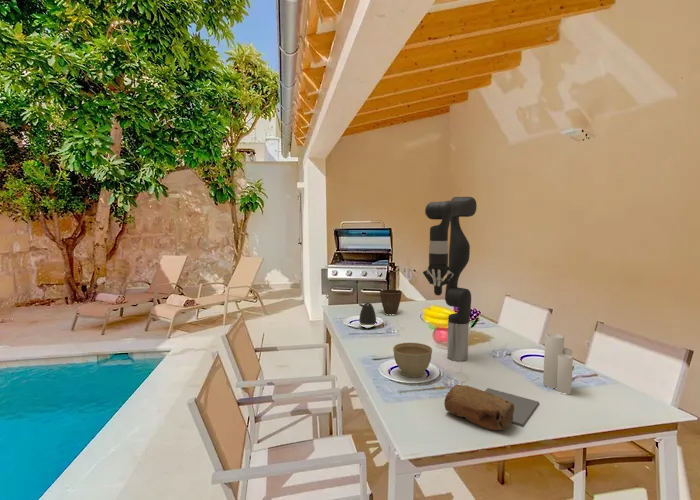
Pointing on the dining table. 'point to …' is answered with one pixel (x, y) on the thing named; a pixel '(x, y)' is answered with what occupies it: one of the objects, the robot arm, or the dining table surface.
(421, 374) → the planter bowl
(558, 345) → the vase
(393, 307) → the plant pot
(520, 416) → the flat gray panel
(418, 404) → the dining table surface
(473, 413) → the block
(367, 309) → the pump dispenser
